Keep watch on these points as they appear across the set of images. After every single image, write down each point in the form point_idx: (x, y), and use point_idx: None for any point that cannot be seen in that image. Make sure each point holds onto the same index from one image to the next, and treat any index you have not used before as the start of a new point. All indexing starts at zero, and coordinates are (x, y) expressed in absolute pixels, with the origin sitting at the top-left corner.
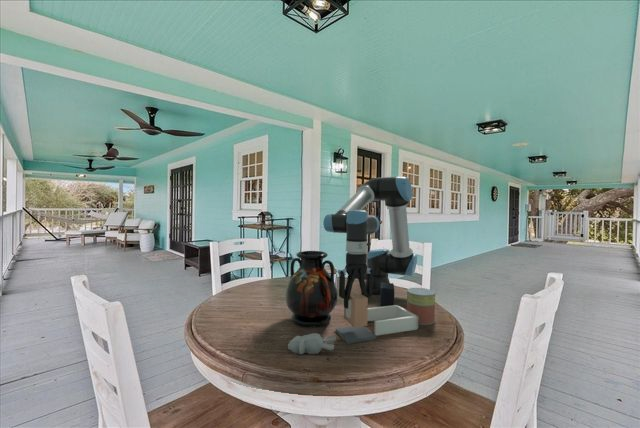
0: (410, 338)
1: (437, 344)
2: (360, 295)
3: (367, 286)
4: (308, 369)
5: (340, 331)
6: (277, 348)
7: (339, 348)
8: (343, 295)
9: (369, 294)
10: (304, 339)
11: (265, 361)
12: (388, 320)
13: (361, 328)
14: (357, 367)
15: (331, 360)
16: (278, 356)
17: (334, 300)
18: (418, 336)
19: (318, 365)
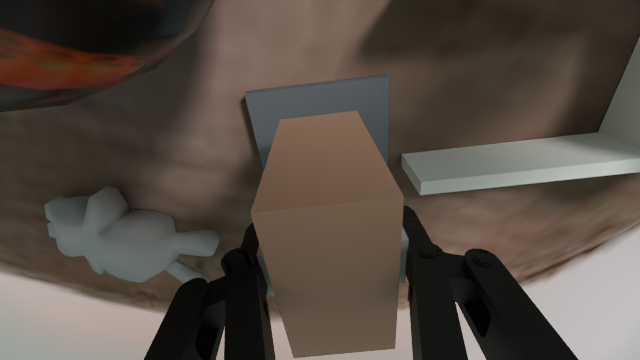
0: (503, 204)
1: (541, 247)
2: (370, 308)
3: (502, 346)
4: (150, 294)
5: (262, 131)
6: (20, 195)
7: (240, 225)
8: (211, 337)
9: (457, 301)
10: (97, 258)
11: (19, 254)
12: (489, 187)
13: (368, 118)
14: (268, 300)
15: (209, 272)
16: (47, 238)
17: (196, 9)
18: (542, 196)
19: (174, 285)
